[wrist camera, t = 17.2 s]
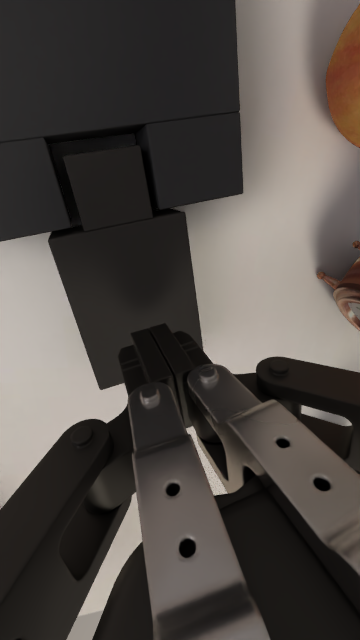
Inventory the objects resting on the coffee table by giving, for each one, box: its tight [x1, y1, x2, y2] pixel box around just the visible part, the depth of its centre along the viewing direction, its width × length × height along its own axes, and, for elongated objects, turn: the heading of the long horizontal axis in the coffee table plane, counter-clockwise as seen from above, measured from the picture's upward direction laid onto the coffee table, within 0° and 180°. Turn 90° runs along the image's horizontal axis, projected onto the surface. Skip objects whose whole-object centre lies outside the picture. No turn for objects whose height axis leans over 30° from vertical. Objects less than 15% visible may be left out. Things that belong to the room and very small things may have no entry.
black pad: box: [48, 145, 203, 390], centre depth 15 cm, size 6×11×2 cm, turn 9°
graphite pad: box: [0, 0, 243, 241], centre depth 11 cm, size 12×10×2 cm
